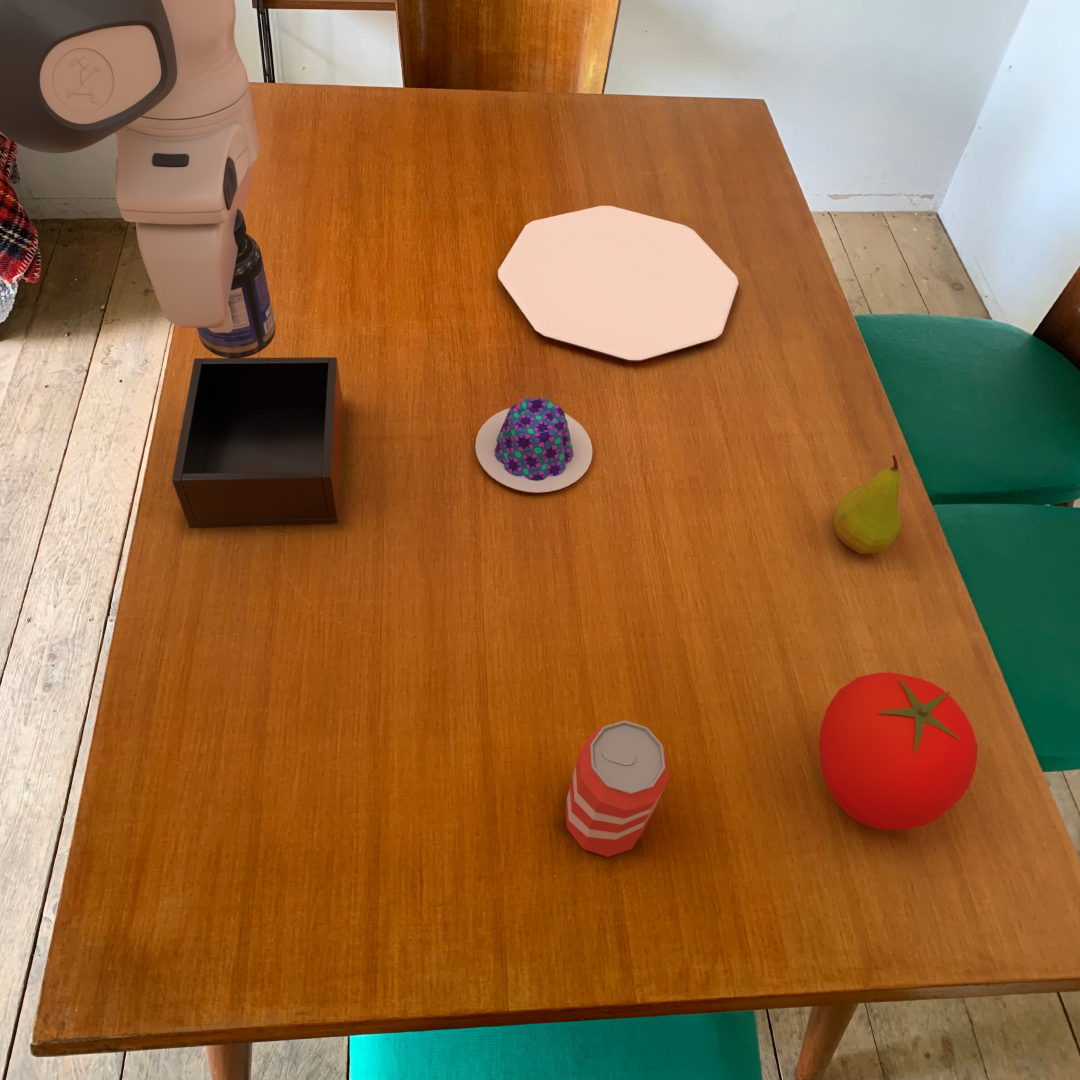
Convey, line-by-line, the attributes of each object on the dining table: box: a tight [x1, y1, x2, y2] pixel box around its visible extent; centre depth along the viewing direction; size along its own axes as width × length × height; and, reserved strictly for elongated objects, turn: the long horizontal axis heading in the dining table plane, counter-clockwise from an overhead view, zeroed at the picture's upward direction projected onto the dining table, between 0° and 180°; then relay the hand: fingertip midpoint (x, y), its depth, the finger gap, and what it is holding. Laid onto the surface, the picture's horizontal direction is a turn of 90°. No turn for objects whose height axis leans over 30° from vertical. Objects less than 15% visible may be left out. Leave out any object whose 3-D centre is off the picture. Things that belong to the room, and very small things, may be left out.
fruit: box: [833, 454, 902, 555], centre depth 86 cm, size 6×6×12 cm
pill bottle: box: [196, 209, 277, 358], centre depth 71 cm, size 6×6×11 cm
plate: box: [497, 205, 740, 362], centre depth 111 cm, size 28×28×2 cm
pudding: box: [474, 397, 593, 493], centre depth 92 cm, size 12×12×5 cm
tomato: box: [818, 671, 978, 831], centre depth 70 cm, size 11×11×13 cm
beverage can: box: [565, 719, 670, 858], centre depth 67 cm, size 6×6×12 cm
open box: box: [171, 356, 344, 529], centre depth 88 cm, size 14×16×7 cm
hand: (228, 295), depth 72 cm, fingers closed on pill bottle, 6 cm apart
